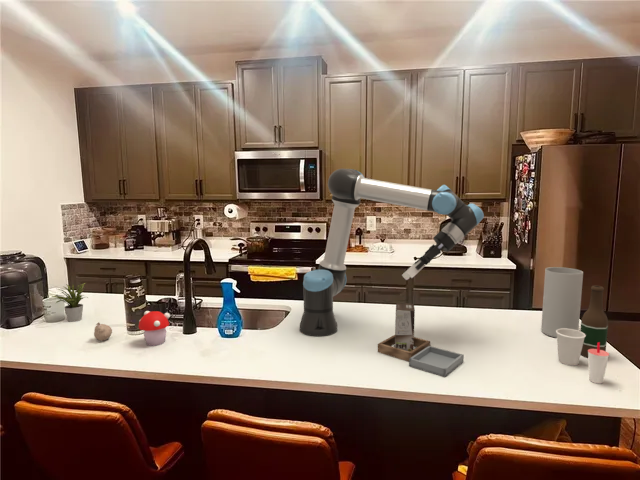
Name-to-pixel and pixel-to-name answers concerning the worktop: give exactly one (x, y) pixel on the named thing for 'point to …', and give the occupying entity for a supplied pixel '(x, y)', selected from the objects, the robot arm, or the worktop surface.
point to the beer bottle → (594, 323)
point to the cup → (597, 364)
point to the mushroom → (154, 327)
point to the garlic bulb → (102, 332)
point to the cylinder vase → (561, 299)
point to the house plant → (72, 303)
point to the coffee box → (404, 326)
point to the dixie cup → (569, 345)
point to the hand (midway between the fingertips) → (406, 276)
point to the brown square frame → (386, 349)
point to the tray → (436, 360)
